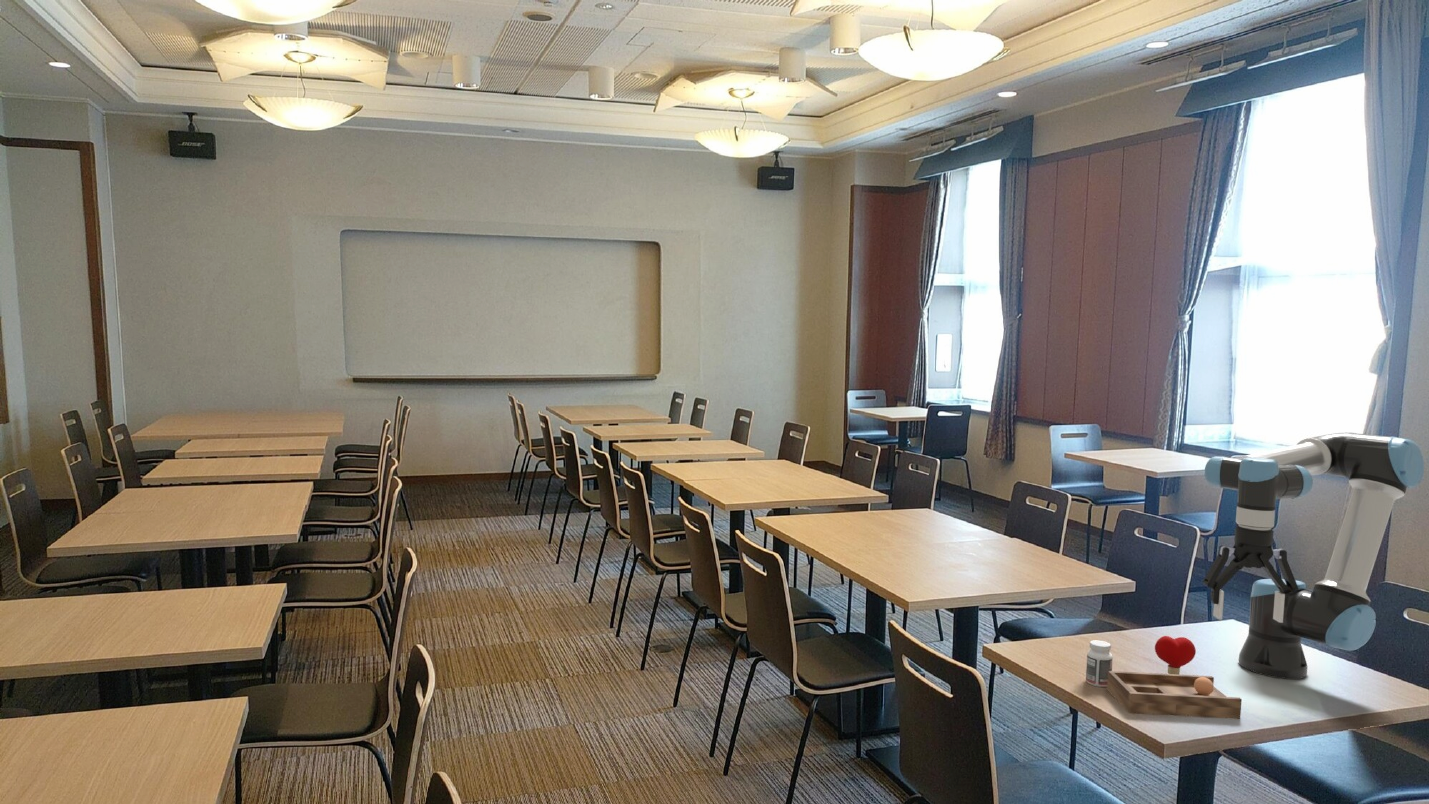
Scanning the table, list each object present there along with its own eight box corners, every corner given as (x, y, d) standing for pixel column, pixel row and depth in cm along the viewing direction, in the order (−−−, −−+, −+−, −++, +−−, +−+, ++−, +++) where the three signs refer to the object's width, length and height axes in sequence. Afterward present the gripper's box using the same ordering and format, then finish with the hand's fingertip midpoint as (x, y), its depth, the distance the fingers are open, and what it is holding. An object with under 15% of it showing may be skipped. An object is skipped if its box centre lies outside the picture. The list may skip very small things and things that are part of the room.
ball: (1208, 691, 214) (1209, 675, 214) (1216, 698, 210) (1217, 681, 210) (1190, 690, 214) (1191, 674, 214) (1198, 697, 210) (1199, 680, 210)
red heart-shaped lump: (1157, 680, 227) (1160, 640, 227) (1149, 670, 234) (1151, 631, 234) (1198, 683, 226) (1201, 643, 225) (1188, 673, 233) (1191, 634, 232)
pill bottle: (1111, 681, 226) (1113, 641, 225) (1110, 689, 221) (1113, 648, 220) (1086, 677, 228) (1088, 638, 227) (1084, 684, 223) (1087, 644, 222)
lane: (1210, 694, 219) (1211, 676, 219) (1240, 719, 205) (1241, 699, 205) (1106, 689, 220) (1108, 670, 220) (1129, 713, 207) (1130, 693, 206)
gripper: (1301, 525, 212) (1294, 617, 213) (1190, 520, 214) (1184, 611, 215) (1320, 532, 204) (1313, 627, 206) (1205, 527, 206) (1199, 621, 208)
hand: (1247, 619), depth 210 cm, fingers open, 12 cm apart
